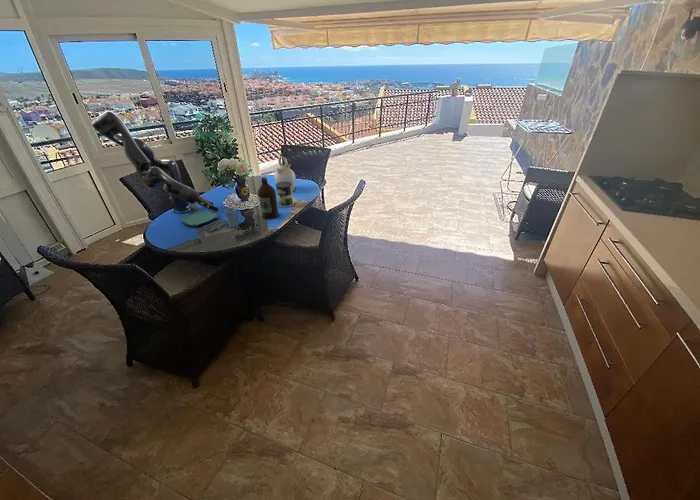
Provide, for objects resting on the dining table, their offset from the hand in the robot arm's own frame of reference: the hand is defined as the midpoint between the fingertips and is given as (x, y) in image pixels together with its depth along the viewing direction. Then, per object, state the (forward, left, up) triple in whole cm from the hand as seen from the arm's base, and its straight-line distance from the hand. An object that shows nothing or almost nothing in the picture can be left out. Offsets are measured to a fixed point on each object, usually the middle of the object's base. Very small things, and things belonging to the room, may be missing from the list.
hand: (215, 207), depth 166 cm
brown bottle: (+22, +21, -14) cm, 33 cm away
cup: (+5, +6, -14) cm, 16 cm away
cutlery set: (-15, +6, -14) cm, 21 cm away
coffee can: (+25, +40, -14) cm, 49 cm away
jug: (+15, +65, -14) cm, 68 cm away
